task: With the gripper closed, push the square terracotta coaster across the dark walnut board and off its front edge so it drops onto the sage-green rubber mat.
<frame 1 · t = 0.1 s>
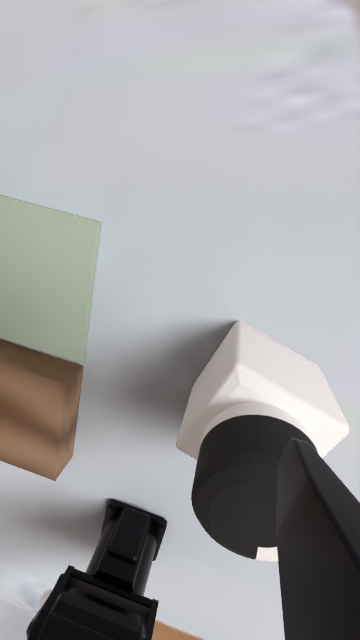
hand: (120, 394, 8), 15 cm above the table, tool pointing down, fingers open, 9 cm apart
medicine bottle: (252, 375, 23), on the table
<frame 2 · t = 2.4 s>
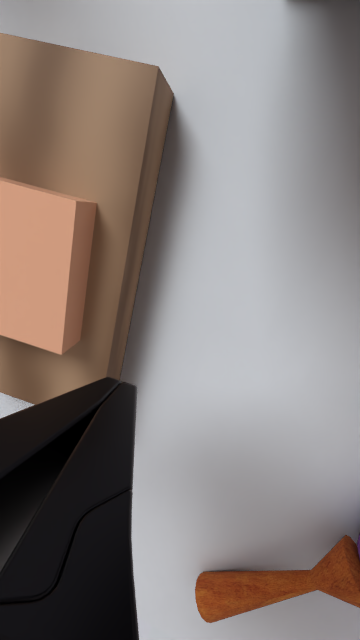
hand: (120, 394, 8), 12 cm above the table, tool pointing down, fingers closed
coaster: (23, 258, 17), point 3 cm above the table, touching board
board: (61, 254, 19), on the table
kendama: (303, 543, 24), on the table
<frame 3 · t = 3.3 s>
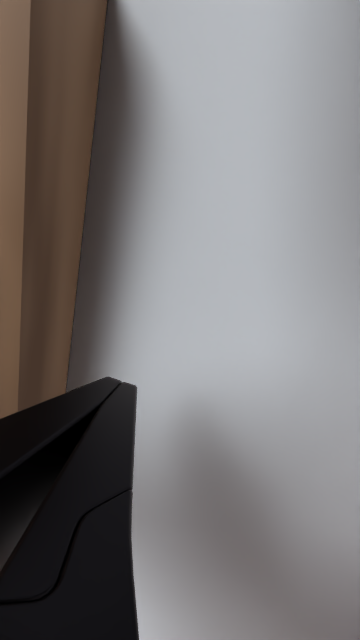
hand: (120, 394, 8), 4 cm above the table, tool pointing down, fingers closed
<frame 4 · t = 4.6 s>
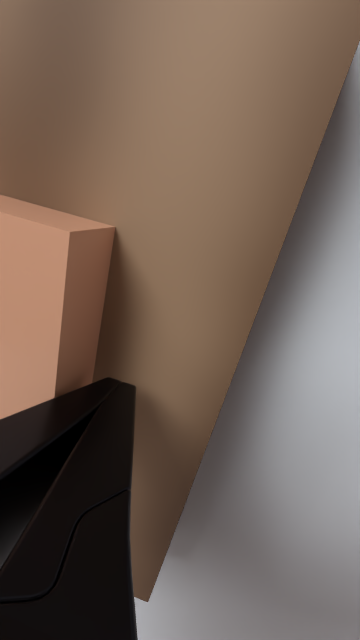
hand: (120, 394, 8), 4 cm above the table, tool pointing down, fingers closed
board: (89, 316, 11), on the table
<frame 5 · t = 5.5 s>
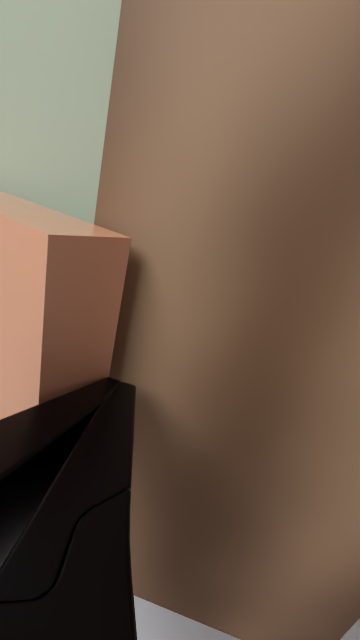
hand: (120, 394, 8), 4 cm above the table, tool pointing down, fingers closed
coaster: (23, 327, 10), point 2 cm above the table, tilted 22°, touching gripper
board: (256, 368, 11), on the table
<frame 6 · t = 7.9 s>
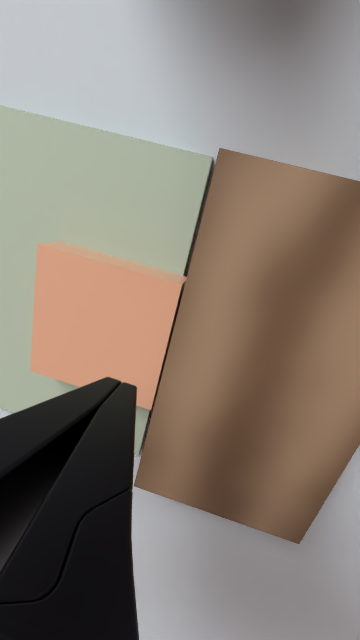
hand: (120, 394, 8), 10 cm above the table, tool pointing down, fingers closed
coaster: (111, 320, 18), resting on mat
mat: (82, 306, 19), on the table
board: (262, 360, 18), on the table
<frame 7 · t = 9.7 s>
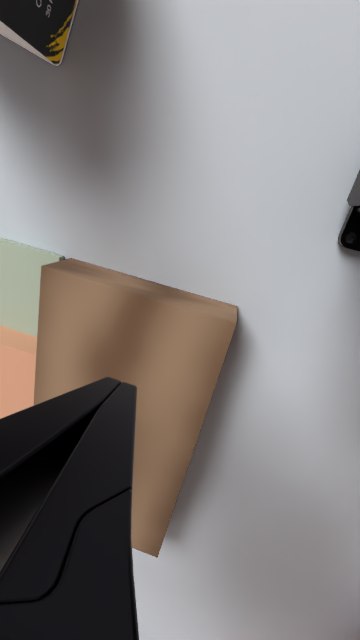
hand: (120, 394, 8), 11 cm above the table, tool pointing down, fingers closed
coaster: (5, 373, 23), resting on mat
board: (125, 407, 22), on the table
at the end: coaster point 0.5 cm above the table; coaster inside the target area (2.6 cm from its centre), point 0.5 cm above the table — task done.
